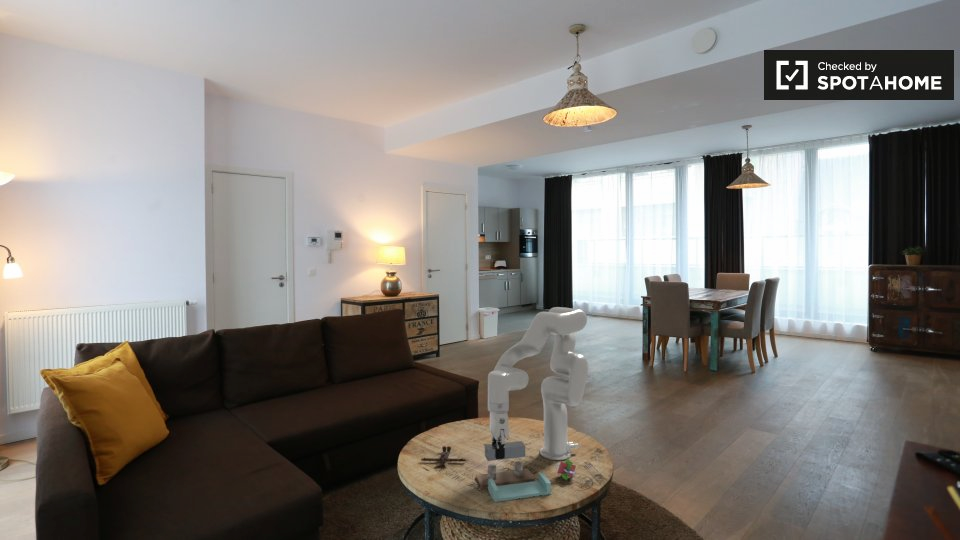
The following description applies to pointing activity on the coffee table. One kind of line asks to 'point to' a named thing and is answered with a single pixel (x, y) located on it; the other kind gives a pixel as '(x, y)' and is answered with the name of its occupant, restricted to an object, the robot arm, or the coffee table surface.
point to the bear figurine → (443, 458)
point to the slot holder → (520, 489)
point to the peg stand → (506, 476)
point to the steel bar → (506, 450)
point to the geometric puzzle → (566, 469)
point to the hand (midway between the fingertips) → (498, 455)
